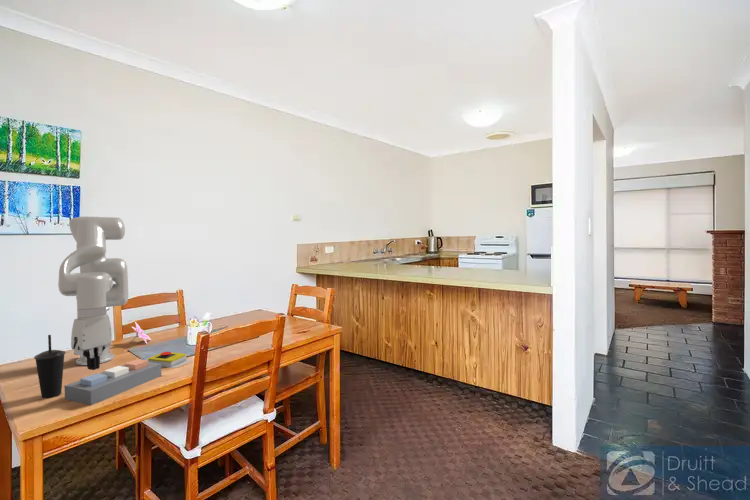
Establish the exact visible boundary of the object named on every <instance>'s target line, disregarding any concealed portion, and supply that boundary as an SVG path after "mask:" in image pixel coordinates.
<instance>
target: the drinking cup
mask: <svg viewBox="0 0 750 500" xmlns="http://www.w3.org/2000/svg"><path fill="white" fill-rule="evenodd" d="M47 337H48V338H47V340H48V341H47V343H48V346H47V347H48V349H47V350H45V351H42V352H40V353H38V354H36V355H34V357H33V358H34V360H35V365H36V372H37V376H38V382H39V383H38V384H39V389H40V395H41V396H40V397H41V398H42V399H51V398H55V397H58V396H61V394H62V389H63V376H64V375H63V374H64V366H65V365H64V364H65V355H66V351H65V350H60V349H52V335H51V334H48V335H47Z"/></svg>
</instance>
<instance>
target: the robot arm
mask: <svg viewBox="0 0 750 500" xmlns="http://www.w3.org/2000/svg"><path fill="white" fill-rule="evenodd" d="M68 226H69V231H70V232H71V234H72V237H73V239H74V241H75V242H76V249H75V250H74V251H73V252H71V253H69V255H68V256H67V257H66V258H64V259H63V261H62V262H61V264H60V266H59V270H58V286H57V287H58V291H59V293H60V294H61V295H63V296H65V297H76V298H75V299H76V318H74V319H73V323H72V327H71V328H72V329H71V338H70V342H71V343H70V346H71V350H74V352H73V355H75V356H79V358H77V359H76V360H75V364H76V365H78V366H86V367H87V369H88V370H92V371H94V370H98V369H100V366H101V364H102V363H106V362H109V361H111V360H113V359H114V358H115V355H114V353H111V352H110V347H111V344H112V343H111V342H112V340H113V337H112V335H113V333H112V325H111V320H110V317H109V314H108V313H107V311H110V307H119V306H124V305H125V304H126V305H127V303H128V301H129V281H128V280H129V279H128V277H129V275H128V265H127V262H126V261H125V260H124V259H123V258H118V257H117V258H116V257H115V258H110V257H108V258H107V257H106V254H107V243H106V241H110V240H111V241H113V240H118V241H121V240H123V239H124V237H125V233H126V227H125V223H124V221H123V219H122V218H120V217H113V216H111V217H110V216H109V217H108V216H107V217H106V216H77V217H73V218H71V219H70V221H69V225H68ZM77 268H79V272H76V273H75V272H74V273H73V272H72V271H74V270H75V269H77ZM71 272H72V273H71Z"/></svg>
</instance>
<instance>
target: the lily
mask: <svg viewBox="0 0 750 500" xmlns="http://www.w3.org/2000/svg"><path fill="white" fill-rule="evenodd" d="M134 323H135V324H134V325H135V327H134V326H131V328H132V329H133V330H134V331H135V332H136V336H135V337H134V338H133V339H132V340H131V342H130V345H131V344H132V343H133V341H134V340H135V339H136V338H141V339H143V341H144V343H146V345H148V342H147V340H149V341H152V339H151V337H150V336H149V335H147V334H146V333H145V331H144V329H142V328H141V327H140V325H139V324H138V323H137V322H136V321H134Z"/></svg>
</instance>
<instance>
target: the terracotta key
mask: <svg viewBox="0 0 750 500" xmlns="http://www.w3.org/2000/svg"><path fill="white" fill-rule="evenodd" d="M124 365H125V367H129V369H131V370H137V369H140V368H142V367H145V366H148V360H147V359H140V358H137V359H134V360H131V361H128V362H125V363H124Z"/></svg>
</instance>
